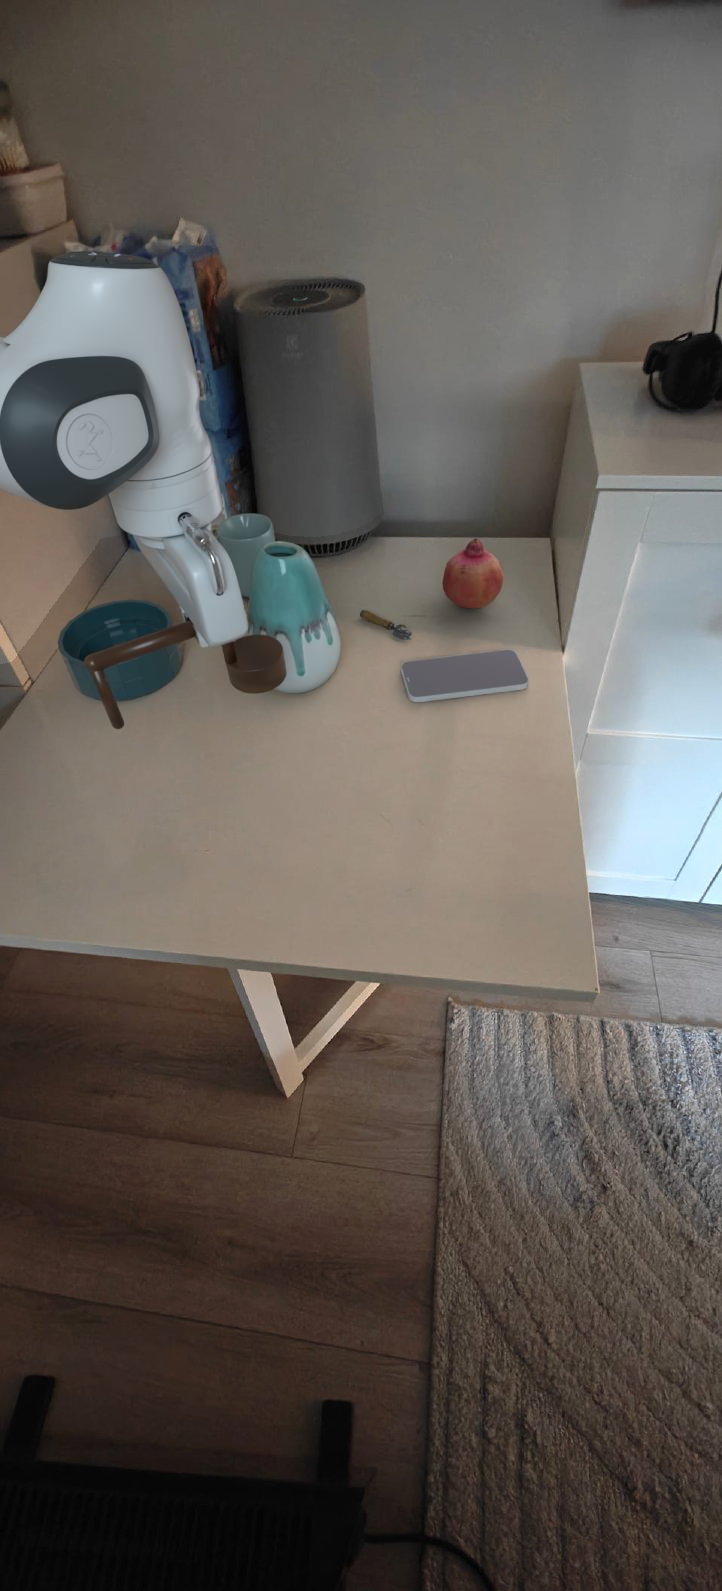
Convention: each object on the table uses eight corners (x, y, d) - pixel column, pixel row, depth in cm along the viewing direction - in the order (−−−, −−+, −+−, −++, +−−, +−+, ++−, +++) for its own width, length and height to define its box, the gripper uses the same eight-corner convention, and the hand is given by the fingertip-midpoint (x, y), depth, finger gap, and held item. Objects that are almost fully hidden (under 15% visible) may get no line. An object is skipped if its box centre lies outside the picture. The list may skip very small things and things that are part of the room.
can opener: (359, 618, 101) (358, 611, 100) (371, 611, 102) (371, 604, 101) (406, 644, 97) (406, 637, 96) (418, 637, 98) (418, 629, 97)
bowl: (131, 717, 90) (117, 678, 85) (51, 683, 95) (33, 645, 91) (204, 654, 98) (194, 616, 93) (126, 627, 103) (113, 589, 99)
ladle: (272, 650, 79) (260, 578, 72) (296, 680, 75) (285, 608, 69) (103, 713, 74) (73, 641, 67) (120, 748, 70) (90, 677, 63)
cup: (279, 604, 105) (269, 539, 98) (226, 605, 105) (212, 541, 98) (284, 575, 110) (275, 511, 103) (233, 577, 111) (221, 513, 103)
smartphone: (531, 684, 89) (409, 698, 88) (530, 689, 89) (409, 704, 88) (514, 647, 94) (399, 661, 93) (513, 653, 94) (399, 667, 93)
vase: (331, 641, 98) (319, 514, 85) (353, 694, 90) (343, 563, 77) (246, 658, 97) (220, 531, 83) (261, 714, 89) (235, 583, 76)
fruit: (431, 600, 104) (432, 534, 96) (480, 585, 106) (485, 519, 98) (460, 629, 98) (463, 562, 91) (511, 612, 100) (518, 545, 93)
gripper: (251, 533, 54) (277, 680, 64) (162, 441, 67) (196, 577, 77) (170, 558, 52) (210, 705, 62) (94, 459, 65) (138, 595, 75)
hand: (202, 634), depth 70 cm, fingers closed on ladle
